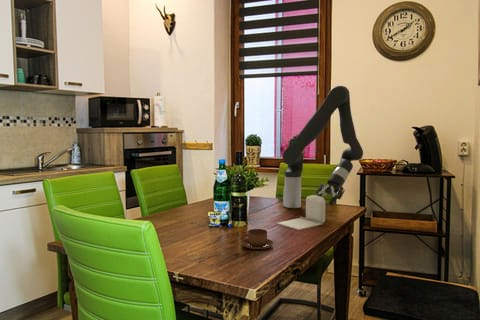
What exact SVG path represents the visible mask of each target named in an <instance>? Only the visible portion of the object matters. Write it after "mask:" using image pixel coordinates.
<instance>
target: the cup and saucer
mask: <svg viewBox="0 0 480 320" xmlns="http://www.w3.org/2000/svg"><path fill="white" fill-rule="evenodd" d="M245 236H246V237H247V238H245ZM244 238H245V239H244ZM241 240H242V241H241V245H242V246H243V247H245V248H247V249H251V250H255V249H257V250H259V249H261V250H267V249H270V248H271V247H272V246H273V245H274V241H273V240H271V239H269V238H268V231H267V230H266V229H262V228H261V229H260V228H253V229H249V230H248V231H247V233H244V234H242V236H241ZM248 244H250V246H246V245H248ZM266 244H267V245H269V246H266V247H263V246H265V245H266ZM251 246H252V247H251Z"/></svg>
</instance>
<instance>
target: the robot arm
mask: <svg viewBox="0 0 480 320" xmlns="http://www.w3.org/2000/svg"><path fill="white" fill-rule="evenodd" d="M350 96H351V95H350V90H349V88H348V87H346V86H344V85H337V86H333V87H332V88H331V89H330V90H329V92H328V93H327V96H325V97H326V98H325V99H324V100H323V102H322V104H321V105H320V106H319V108H318V109H317V110H316V111H315V112H314V113H313V114H312V116H310V118H309V120H307V122H306V123H305V125H304V127H303V128H302V129H301V130H300V132H299V133H298V135H297V136H296V138H295V139H294V140H293V141H292V142H291V143H290V144H289V146H288V147H286V149H285V150H284V151H283V153H282V162H283V163H284V164H286V165H287V168H286V169H285V171H284V189H283V191H282V198H283V199H282V206H283V207H285V208H289V209H299V208H301V206H302V199H301V198H302V173H303V167H304V154H303V151H304V150H305V148H307V147H308V146H309V145H310V144H312V142H315V140H316V139H317V138H318V137H319V136H320V135H321V133H323V131H324V130H325V128H326V127H327V126H328V123H329V121H330V118H331V116H332V115H333V114H334V112H335V111H336V110H338V115H339V128H340V135H341V137H342V138H341V139H342V141H343V142H342V143H344V144H347V145H348V146H349V147H347V148H345V149H343V151H342V153H341V156H340V161H339V163H338V164H337V166H336V168H334V170H333V172H332V173H331V174H330V176H329V178H328V180H327V183H326V184H325V185H324V184H323V183H321V184H319V186H318V188H317V189H316V191H315V194H316V196H320V197H322V198H323V197H324V196H326V195H330V196H331V197H330V199H329V201H328V204H329V206H333V205H334V204H335V202H336V201H337V200H341V199H342V197H343V195H344V193H345V191H346V190H345V188H344V187H343V186H344V184H345V182H346V181H347V179H348V176H349V174H350V173H351V172H352V170H353V167H354V165H353V163H352V162H355V161H360V160H362V158H363V157H364V150H363V147H362V146H361V144H360V141H359V139H358V138H357V134H356V129H355V126H354V121H353V115H352V109H351V99H350V98H351V97H350Z"/></svg>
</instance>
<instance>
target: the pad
mask: <svg viewBox="0 0 480 320" xmlns="http://www.w3.org/2000/svg"><path fill="white" fill-rule="evenodd" d="M276 224H277V225H279V226H284V227H287V228H291V229H294V230H297V231H300V230H304V229H310V228H314V227H318V226H323V224H324V222H321V221H317V220H313V219H309V218H306V216H299V218H294V219H293V218H292V219H288V220H285V221H284V220H283V221H280V222H276Z"/></svg>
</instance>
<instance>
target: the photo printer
mask: <svg viewBox="0 0 480 320" xmlns="http://www.w3.org/2000/svg"><path fill="white" fill-rule="evenodd" d="M305 218H309V219H313V220H317V221H321V222H323V223H325V221H326V200H325V198H324V197H323V196H322V197H320V196H317V194H311V195H308V196H307V197H306V199H305Z"/></svg>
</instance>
